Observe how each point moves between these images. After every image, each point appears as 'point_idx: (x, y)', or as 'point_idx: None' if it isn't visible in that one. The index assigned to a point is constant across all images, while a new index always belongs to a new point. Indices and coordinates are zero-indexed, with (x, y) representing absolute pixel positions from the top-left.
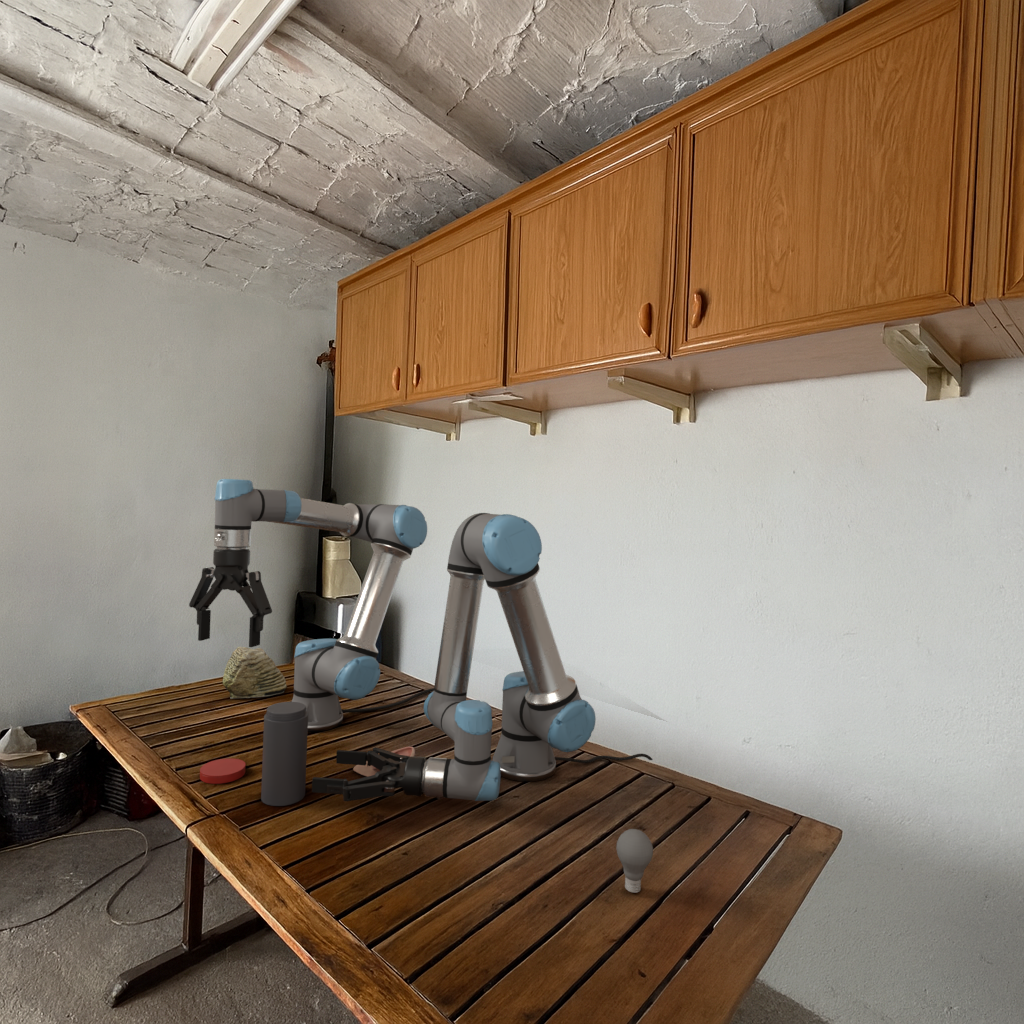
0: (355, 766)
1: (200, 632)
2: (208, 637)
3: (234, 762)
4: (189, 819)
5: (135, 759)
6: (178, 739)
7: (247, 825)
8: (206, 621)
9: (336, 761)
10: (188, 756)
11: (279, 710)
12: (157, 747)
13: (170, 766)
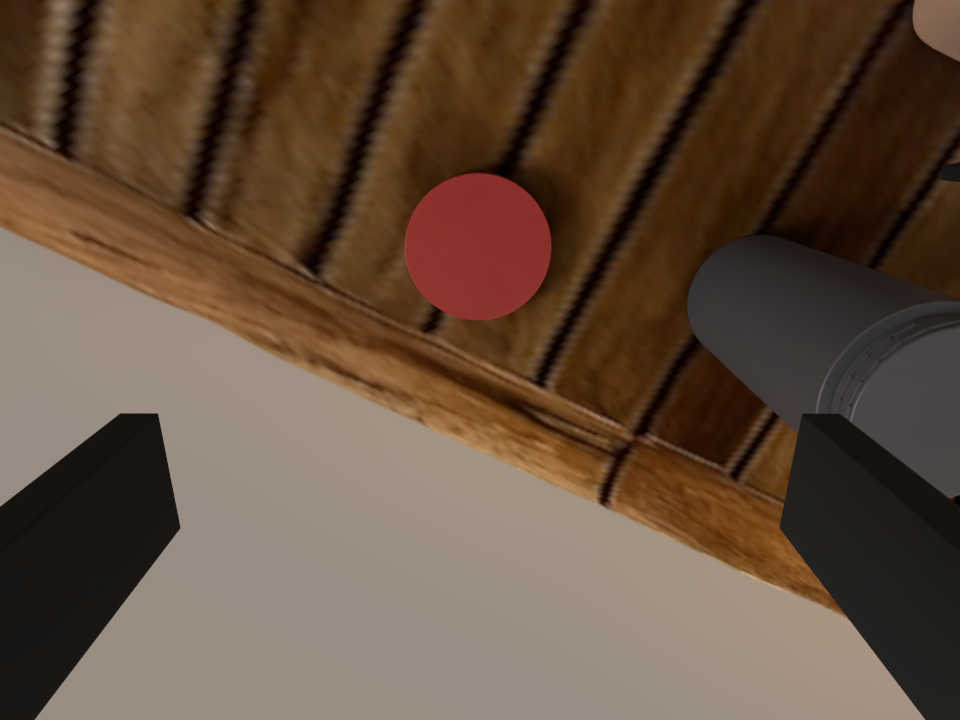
0: (926, 17)
1: (127, 589)
2: (155, 439)
3: (489, 203)
4: (583, 483)
5: (119, 258)
6: (68, 36)
7: (740, 458)
8: (32, 609)
9: (947, 180)
10: (253, 165)
11: (929, 465)
12: (79, 141)
13: (272, 257)
